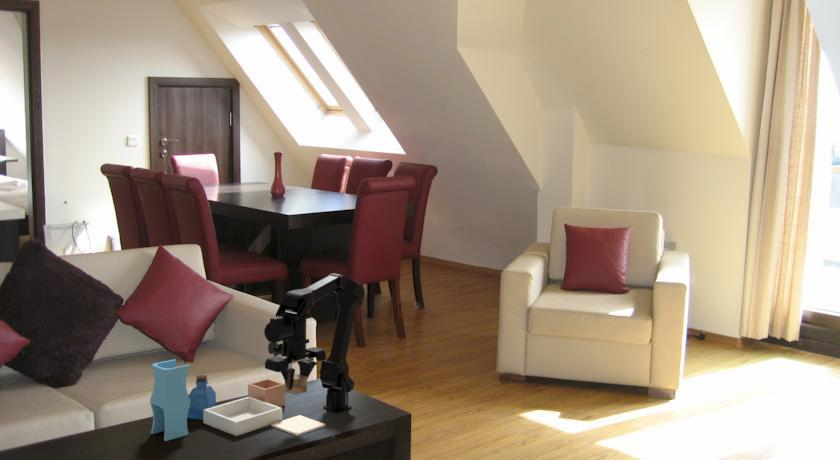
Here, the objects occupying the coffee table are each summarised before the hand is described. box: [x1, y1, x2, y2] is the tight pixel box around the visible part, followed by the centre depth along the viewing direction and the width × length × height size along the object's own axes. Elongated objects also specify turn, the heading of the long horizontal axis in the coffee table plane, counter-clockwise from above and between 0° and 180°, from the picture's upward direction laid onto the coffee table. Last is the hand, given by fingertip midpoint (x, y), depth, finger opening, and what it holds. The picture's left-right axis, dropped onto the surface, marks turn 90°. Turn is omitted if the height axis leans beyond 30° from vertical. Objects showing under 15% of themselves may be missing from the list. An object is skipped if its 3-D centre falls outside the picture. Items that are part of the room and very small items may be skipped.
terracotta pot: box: [247, 378, 286, 408], centre depth 270 cm, size 8×8×7 cm
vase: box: [149, 358, 191, 442], centre depth 244 cm, size 8×8×20 cm
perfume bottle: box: [187, 374, 217, 420], centre depth 259 cm, size 6×6×12 cm
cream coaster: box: [270, 414, 326, 437], centre depth 254 cm, size 11×11×1 cm
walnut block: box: [284, 372, 308, 396], centre depth 252 cm, size 4×4×4 cm
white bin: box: [202, 396, 283, 437], centre depth 256 cm, size 17×15×4 cm
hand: (295, 388), depth 253 cm, fingers closed on walnut block, 4 cm apart
